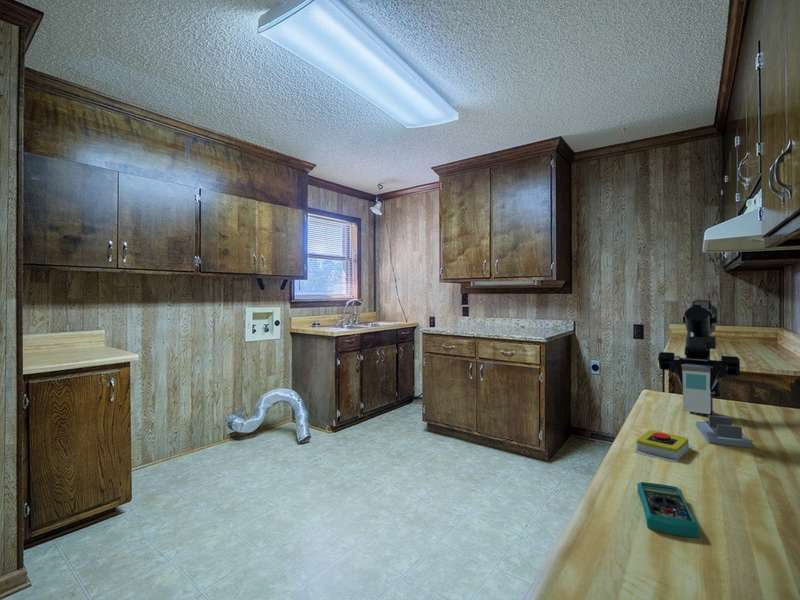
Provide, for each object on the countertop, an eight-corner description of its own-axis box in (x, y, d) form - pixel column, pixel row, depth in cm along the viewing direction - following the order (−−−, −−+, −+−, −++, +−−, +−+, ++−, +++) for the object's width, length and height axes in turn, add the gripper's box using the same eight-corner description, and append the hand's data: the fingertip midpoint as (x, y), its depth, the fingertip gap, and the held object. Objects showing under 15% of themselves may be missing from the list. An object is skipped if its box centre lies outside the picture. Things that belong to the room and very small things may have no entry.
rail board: (696, 426, 121) (696, 421, 121) (734, 430, 117) (734, 424, 117) (708, 442, 108) (708, 437, 108) (752, 447, 104) (752, 441, 104)
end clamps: (708, 425, 116) (708, 415, 116) (730, 427, 113) (730, 417, 113) (717, 436, 107) (717, 425, 107) (742, 439, 105) (741, 427, 105)
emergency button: (632, 436, 102) (651, 423, 112) (632, 454, 102) (651, 439, 112) (676, 446, 95) (692, 431, 105) (676, 465, 95) (692, 448, 106)
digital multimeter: (647, 533, 69) (647, 515, 69) (637, 493, 82) (636, 478, 82) (700, 543, 66) (700, 525, 66) (680, 500, 79) (680, 485, 79)
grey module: (684, 407, 117) (683, 363, 117) (710, 410, 113) (710, 365, 113) (683, 410, 114) (682, 366, 113) (710, 414, 110) (709, 368, 110)
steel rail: (704, 421, 120) (704, 420, 120) (725, 424, 118) (725, 422, 118) (717, 438, 107) (717, 436, 107) (742, 440, 105) (742, 439, 104)
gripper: (658, 324, 122) (653, 367, 114) (739, 327, 110) (740, 374, 102) (662, 348, 128) (657, 389, 120) (738, 352, 117) (740, 398, 108)
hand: (696, 387), depth 112 cm, fingers closed on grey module, 6 cm apart
